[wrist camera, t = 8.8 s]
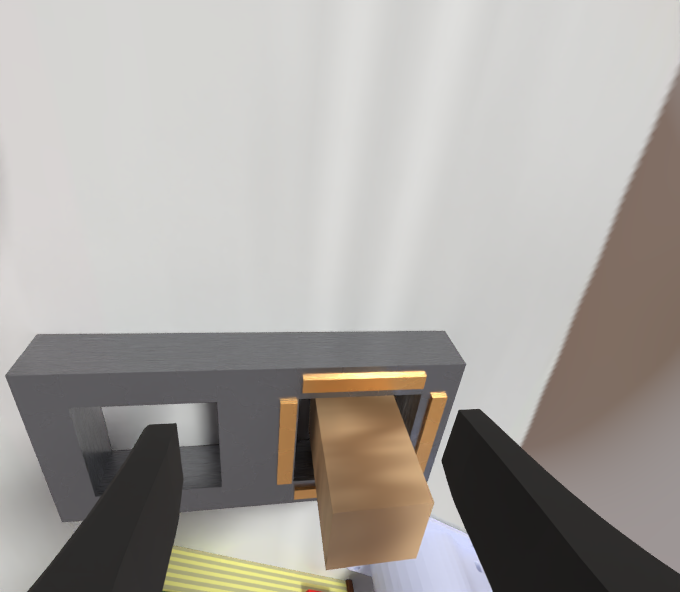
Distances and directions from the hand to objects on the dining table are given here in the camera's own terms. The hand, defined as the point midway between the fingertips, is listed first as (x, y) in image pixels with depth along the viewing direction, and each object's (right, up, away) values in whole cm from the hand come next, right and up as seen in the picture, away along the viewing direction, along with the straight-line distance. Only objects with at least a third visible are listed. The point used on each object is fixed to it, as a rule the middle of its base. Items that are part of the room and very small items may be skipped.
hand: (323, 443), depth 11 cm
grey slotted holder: (-4, -2, +13) cm, 14 cm away
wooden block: (+1, -2, +14) cm, 14 cm away
